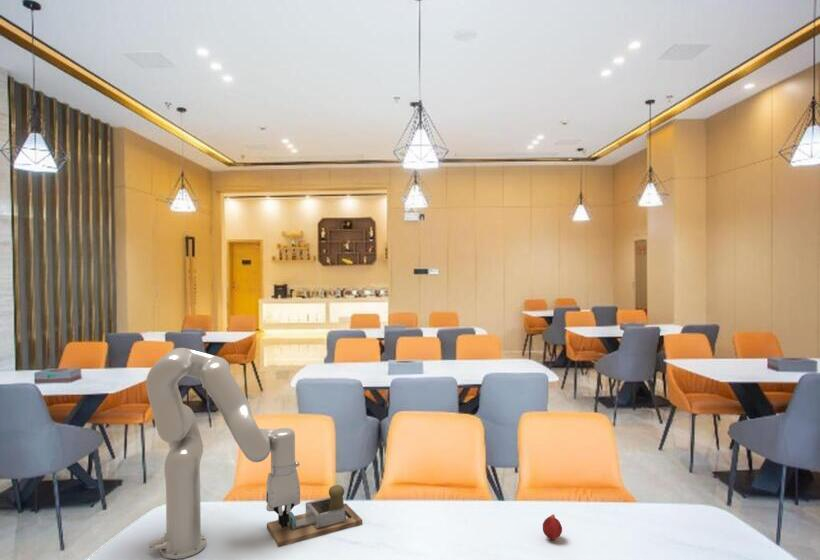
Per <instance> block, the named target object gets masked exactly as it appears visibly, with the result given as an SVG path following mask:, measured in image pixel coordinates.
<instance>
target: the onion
mask: <svg viewBox="0 0 820 560" xmlns="http://www.w3.org/2000/svg"><path fill="white" fill-rule="evenodd" d="M542 532H543V534H544V535H545V536H546V538H548V539H550V540H551V541H555V540H557V539H558V538H559V537H560V536H561V535H562V533H563V527H562V524H561V522H560V521H559V519H557V518H556V515H555V514H553V513H552V514H551V515H550V516H548V517H546V518H545V519H544V521H543V523H542Z"/></svg>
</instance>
